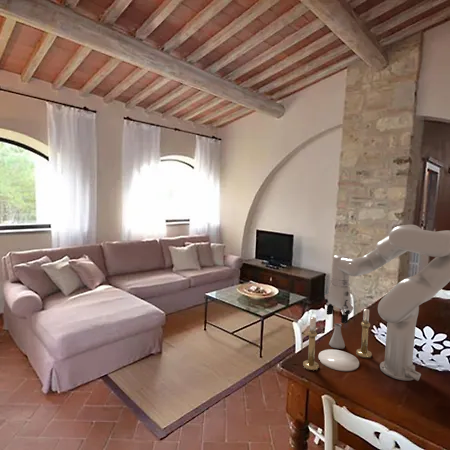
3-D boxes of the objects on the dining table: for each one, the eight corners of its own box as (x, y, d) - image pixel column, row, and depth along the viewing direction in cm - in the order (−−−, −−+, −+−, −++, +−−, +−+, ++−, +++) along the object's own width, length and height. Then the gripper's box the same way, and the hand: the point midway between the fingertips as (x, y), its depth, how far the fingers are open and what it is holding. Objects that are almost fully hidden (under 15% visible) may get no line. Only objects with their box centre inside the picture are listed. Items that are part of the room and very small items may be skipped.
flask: (346, 350, 141) (347, 328, 140) (329, 348, 142) (330, 327, 141) (343, 342, 148) (344, 322, 147) (327, 341, 149) (328, 320, 149)
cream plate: (368, 366, 127) (368, 364, 127) (336, 374, 121) (336, 372, 121) (339, 348, 142) (339, 347, 142) (310, 354, 136) (310, 353, 136)
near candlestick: (321, 369, 125) (324, 319, 123) (309, 372, 122) (311, 321, 121) (312, 361, 130) (314, 314, 128) (300, 364, 128) (302, 316, 126)
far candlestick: (374, 356, 135) (377, 311, 133) (363, 359, 133) (366, 313, 131) (363, 350, 141) (366, 306, 139) (353, 352, 139) (355, 308, 137)
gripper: (360, 287, 136) (357, 325, 138) (333, 276, 152) (330, 310, 154) (347, 288, 133) (344, 327, 135) (320, 277, 149) (317, 312, 151)
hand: (336, 318), depth 145 cm, fingers open, 9 cm apart
